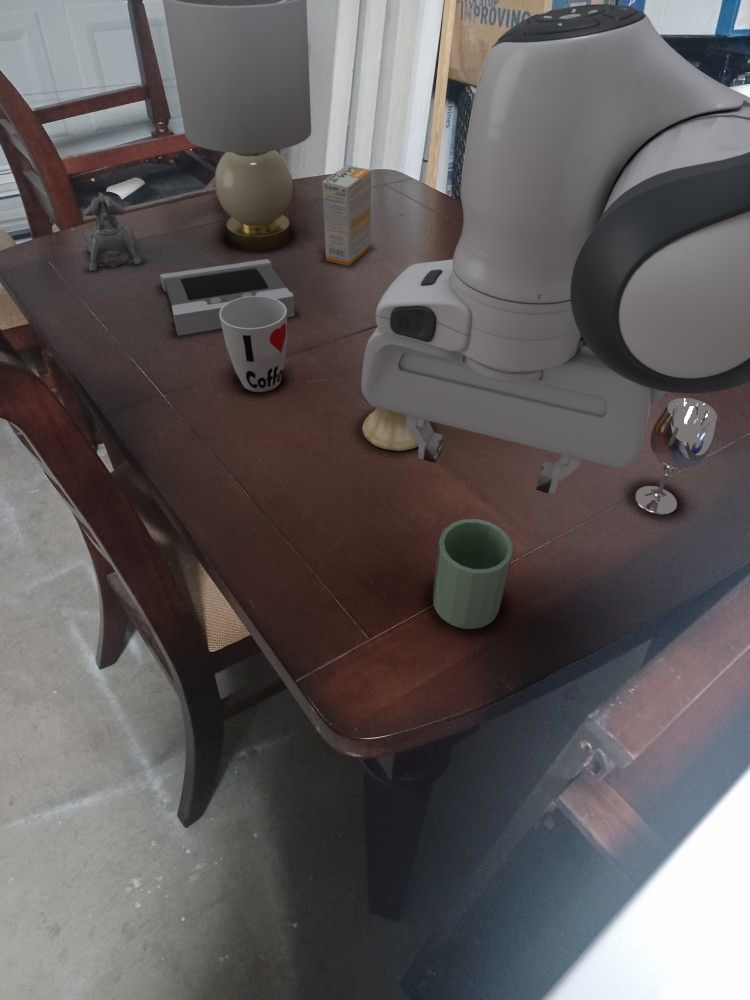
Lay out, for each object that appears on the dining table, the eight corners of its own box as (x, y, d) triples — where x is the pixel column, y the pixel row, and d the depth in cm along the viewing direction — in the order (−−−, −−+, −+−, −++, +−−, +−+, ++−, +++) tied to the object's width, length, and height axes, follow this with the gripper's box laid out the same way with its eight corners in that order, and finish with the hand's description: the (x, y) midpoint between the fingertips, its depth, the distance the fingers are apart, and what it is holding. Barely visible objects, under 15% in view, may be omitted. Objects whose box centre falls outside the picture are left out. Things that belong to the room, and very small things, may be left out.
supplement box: (347, 242, 122) (346, 163, 113) (371, 248, 120) (372, 168, 111) (324, 261, 117) (320, 180, 108) (349, 267, 115) (348, 185, 106)
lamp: (177, 244, 120) (130, -6, 96) (251, 206, 133) (226, -23, 108) (269, 274, 113) (244, 12, 88) (338, 231, 125) (333, -9, 101)
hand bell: (383, 401, 88) (387, 284, 77) (442, 422, 85) (454, 304, 74) (349, 437, 83) (347, 316, 72) (410, 460, 80) (418, 339, 69)
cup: (242, 405, 87) (232, 335, 80) (221, 372, 92) (210, 304, 86) (301, 388, 90) (297, 319, 83) (278, 358, 95) (272, 290, 88)
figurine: (135, 240, 122) (121, 175, 114) (142, 264, 115) (127, 197, 107) (85, 246, 119) (67, 181, 112) (89, 271, 113) (71, 203, 105)
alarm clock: (173, 315, 96) (156, 256, 106) (179, 343, 100) (161, 283, 110) (293, 296, 101) (265, 241, 111) (294, 323, 104) (267, 268, 114)
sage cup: (506, 587, 67) (519, 530, 61) (490, 638, 63) (502, 581, 57) (444, 568, 69) (451, 511, 63) (424, 616, 64) (430, 560, 59)
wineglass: (625, 510, 75) (658, 421, 67) (632, 477, 79) (664, 389, 70) (681, 525, 73) (722, 436, 65) (685, 490, 77) (724, 402, 69)
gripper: (687, 321, 44) (627, 481, 54) (386, 262, 49) (381, 418, 59) (681, 373, 40) (617, 536, 50) (352, 302, 45) (352, 463, 55)
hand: (486, 471), depth 54 cm, fingers open, 8 cm apart
